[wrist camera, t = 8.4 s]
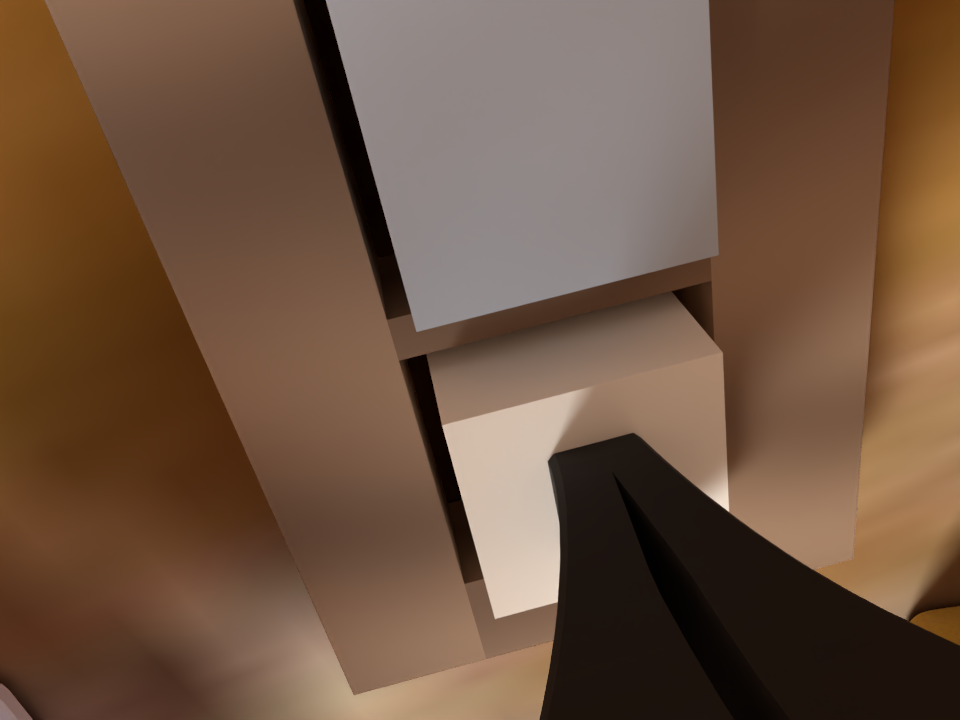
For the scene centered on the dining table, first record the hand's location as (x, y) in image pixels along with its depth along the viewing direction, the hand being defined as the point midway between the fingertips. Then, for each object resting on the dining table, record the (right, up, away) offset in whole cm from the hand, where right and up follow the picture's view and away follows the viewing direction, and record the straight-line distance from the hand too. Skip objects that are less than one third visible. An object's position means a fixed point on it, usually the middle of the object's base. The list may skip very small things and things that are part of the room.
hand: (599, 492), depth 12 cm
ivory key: (-1, +1, +3) cm, 3 cm away
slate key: (-2, +6, 0) cm, 6 cm away
